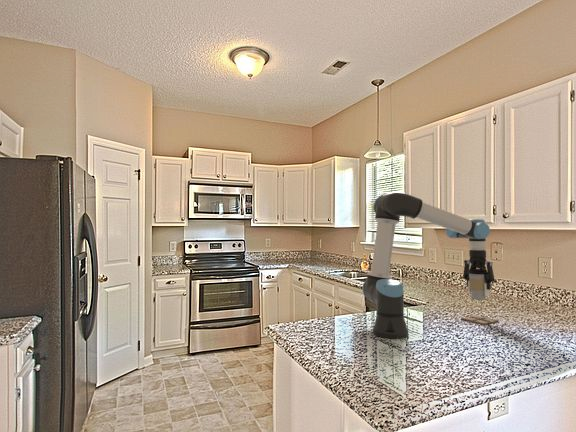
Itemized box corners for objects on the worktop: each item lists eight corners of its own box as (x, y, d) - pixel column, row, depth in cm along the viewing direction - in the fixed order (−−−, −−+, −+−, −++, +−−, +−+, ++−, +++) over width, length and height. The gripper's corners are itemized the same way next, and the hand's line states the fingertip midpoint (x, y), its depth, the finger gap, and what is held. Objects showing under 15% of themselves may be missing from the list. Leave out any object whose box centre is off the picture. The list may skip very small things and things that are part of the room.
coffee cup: (487, 301, 171) (487, 270, 172) (466, 299, 177) (465, 269, 178) (490, 298, 179) (489, 269, 179) (470, 296, 185) (469, 267, 185)
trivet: (483, 325, 169) (483, 322, 169) (461, 319, 180) (461, 317, 180) (498, 321, 175) (498, 319, 175) (475, 316, 186) (475, 314, 186)
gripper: (502, 250, 171) (504, 297, 171) (463, 248, 190) (464, 290, 189) (493, 250, 168) (494, 298, 167) (454, 248, 186) (455, 292, 185)
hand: (478, 294), depth 178 cm, fingers closed on coffee cup, 8 cm apart
